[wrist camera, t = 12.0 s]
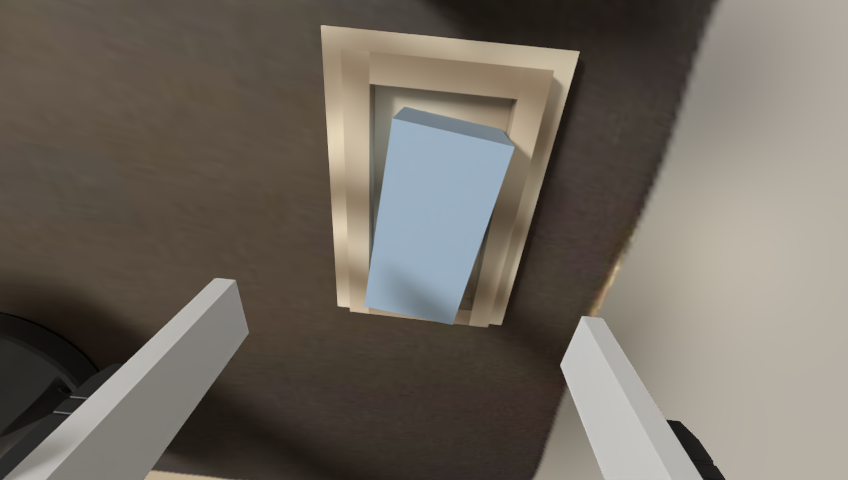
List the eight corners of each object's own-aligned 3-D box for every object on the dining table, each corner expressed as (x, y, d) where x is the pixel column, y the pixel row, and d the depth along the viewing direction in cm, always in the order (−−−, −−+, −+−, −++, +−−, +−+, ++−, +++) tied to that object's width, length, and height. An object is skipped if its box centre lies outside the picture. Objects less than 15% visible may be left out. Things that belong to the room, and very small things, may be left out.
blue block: (404, 106, 19) (392, 118, 15) (501, 129, 19) (514, 146, 15) (377, 267, 25) (363, 306, 21) (452, 283, 25) (452, 324, 21)
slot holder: (499, 315, 28) (503, 338, 26) (341, 296, 28) (332, 318, 26) (572, 51, 18) (590, 50, 16) (328, 27, 18) (310, 22, 16)
